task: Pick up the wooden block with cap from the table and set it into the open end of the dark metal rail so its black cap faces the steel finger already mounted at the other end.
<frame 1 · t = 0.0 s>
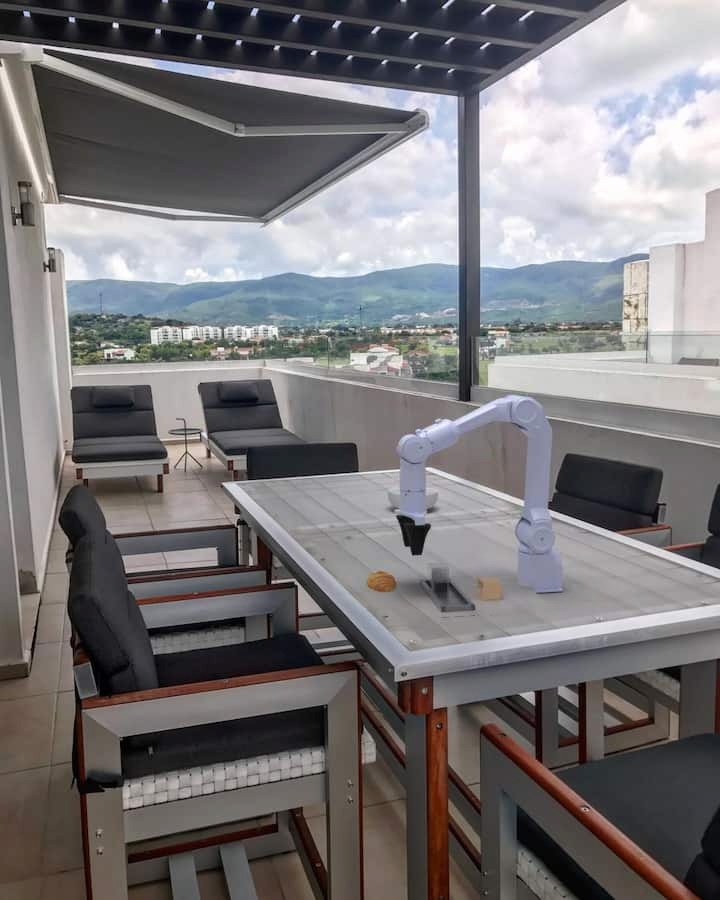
hand: (413, 550, 180), 10 cm above the table, tool pointing down, fingers open, 7 cm apart
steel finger: (438, 587, 183), resting on rail
pastry: (382, 591, 185), on the table
cereal bowl: (412, 511, 274), on the table
rail: (446, 601, 176), on the table
wooden block with cap: (489, 602, 175), on the table
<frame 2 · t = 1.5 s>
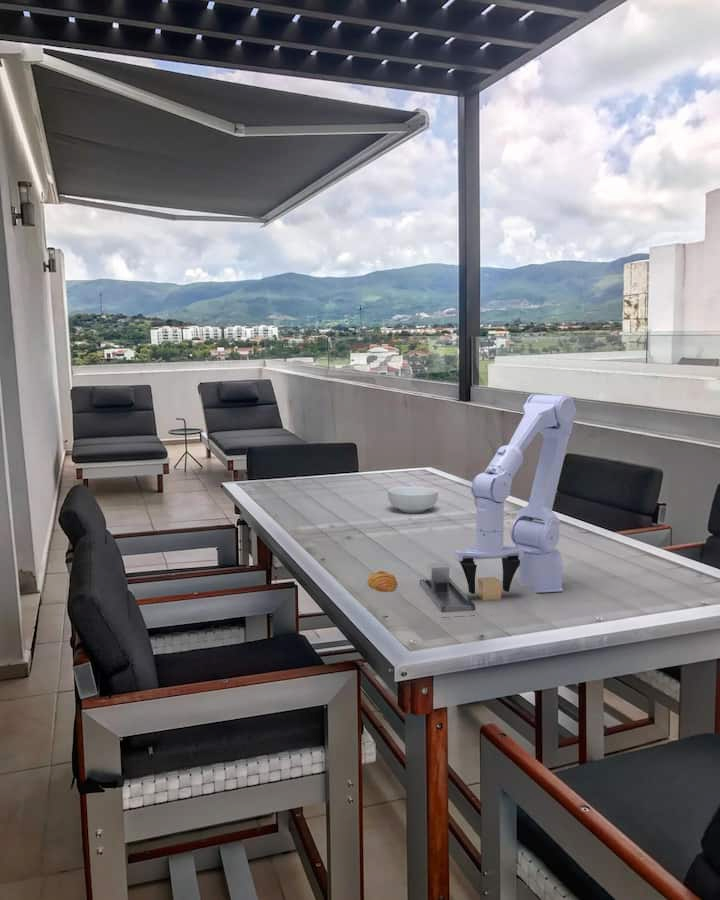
hand: (488, 591, 175), 2 cm above the table, tool pointing down, fingers open, 7 cm apart
nothing on the table moved.
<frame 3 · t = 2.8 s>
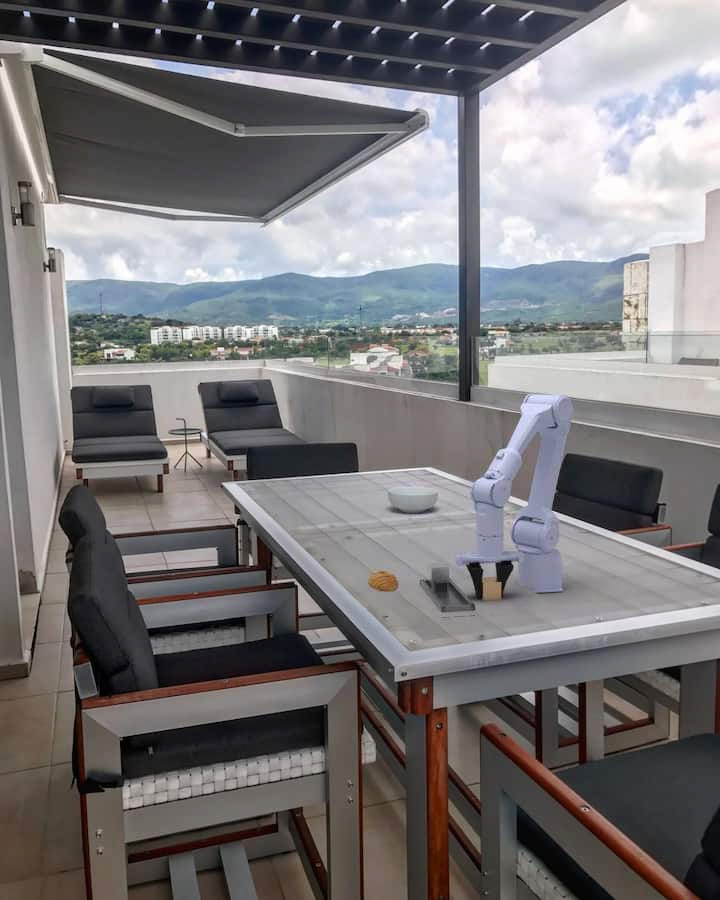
hand: (489, 595, 175), 1 cm above the table, tool pointing down, fingers closed on wooden block with cap, 4 cm apart
wooden block with cap: (489, 602, 175), on the table, touching gripper
everything else where it was.
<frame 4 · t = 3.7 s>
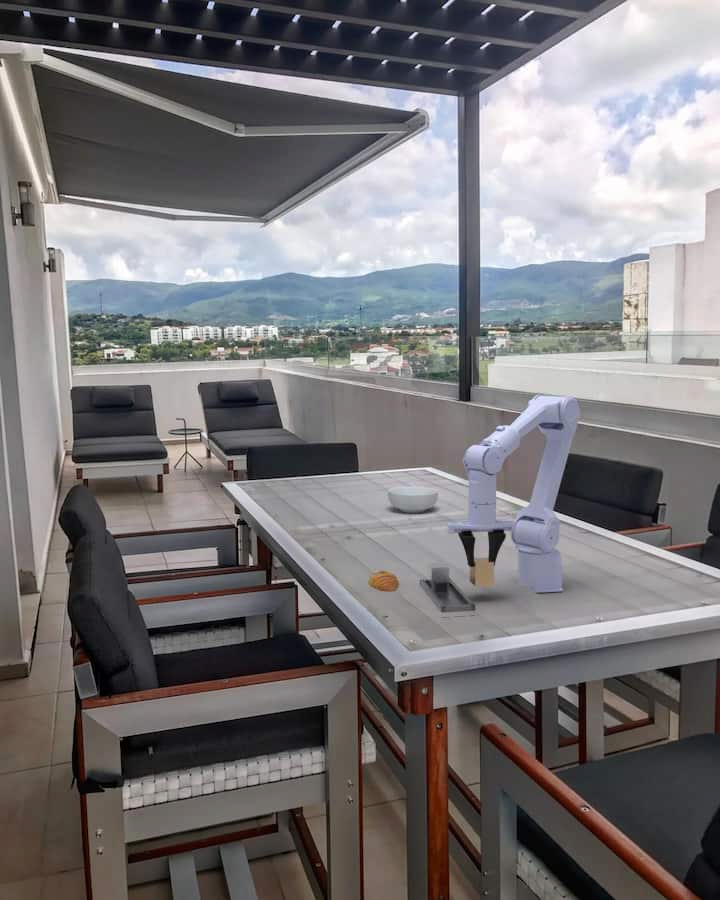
hand: (481, 565, 173), 9 cm above the table, tool pointing down, fingers closed on wooden block with cap, 4 cm apart
wooden block with cap: (481, 583, 173), point 5 cm above the table, touching gripper
everything else where it was.
when the fingers open (9 cm above the table, at t = 3.9 s): wooden block with cap drops 2 cm, resting on rail.
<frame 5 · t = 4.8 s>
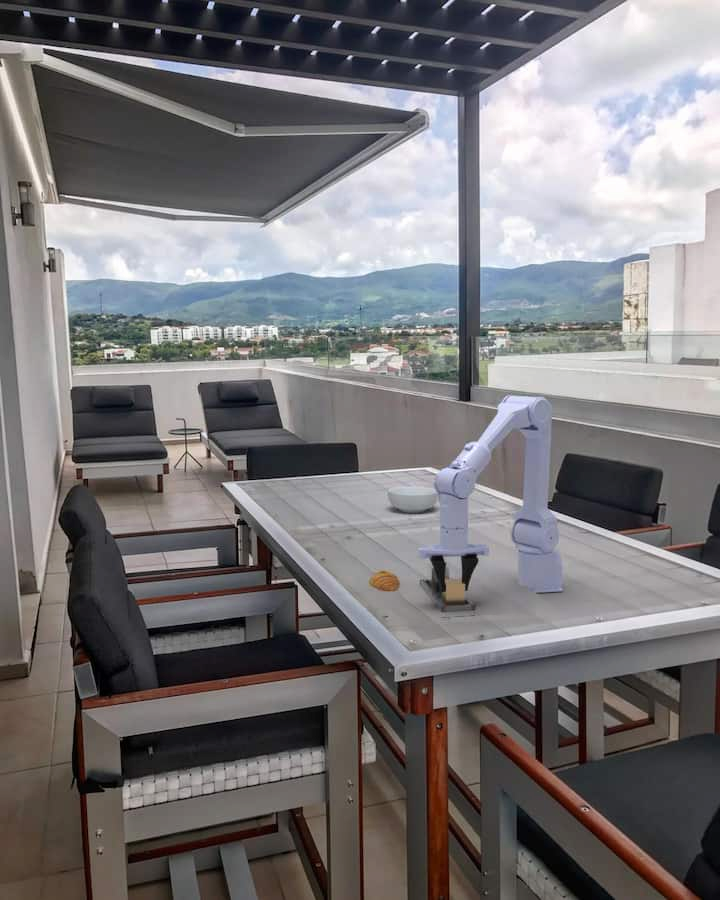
hand: (453, 590, 170), 4 cm above the table, tool pointing down, fingers open, 4 cm apart
wooden block with cap: (453, 604, 170), point 1 cm above the table, touching gripper, rail
everything else where it was.
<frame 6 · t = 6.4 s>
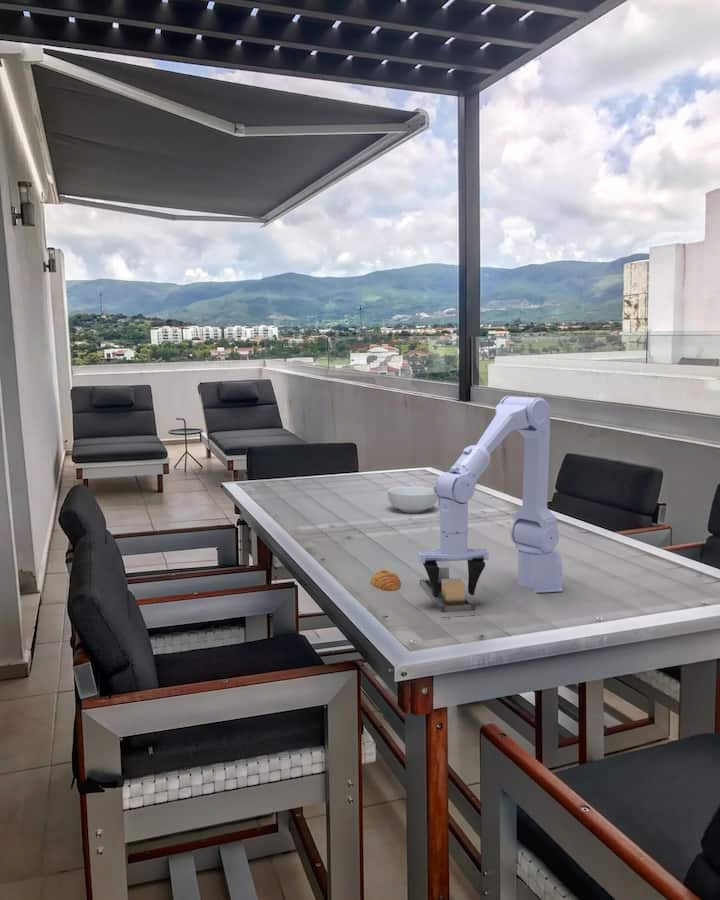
hand: (453, 594, 170), 3 cm above the table, tool pointing down, fingers open, 7 cm apart
wooden block with cap: (453, 604, 170), point 1 cm above the table, touching rail
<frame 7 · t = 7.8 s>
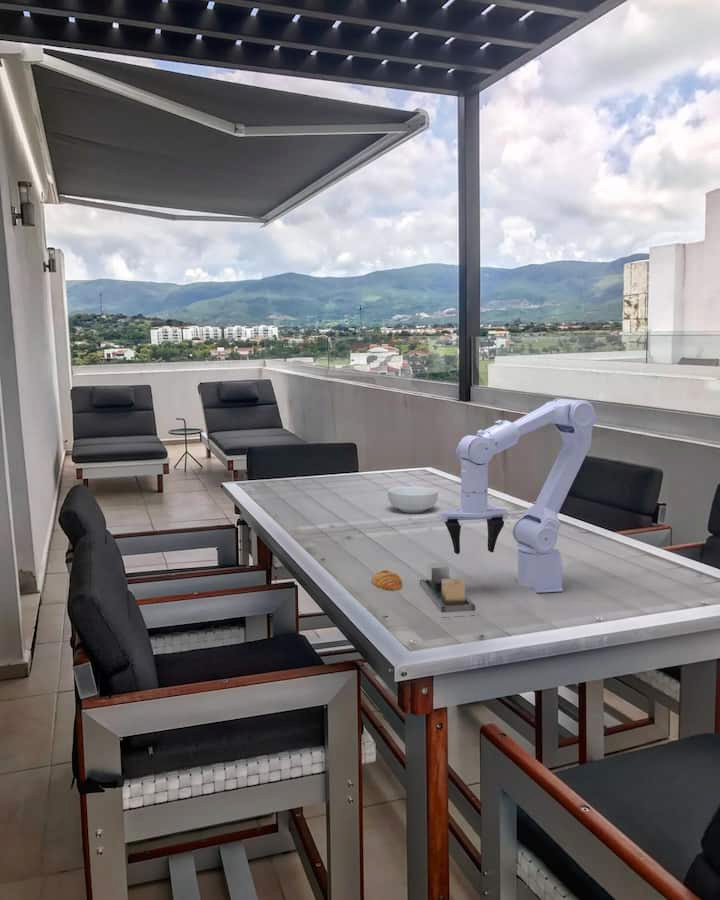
hand: (473, 552, 179), 10 cm above the table, tool pointing down, fingers open, 7 cm apart
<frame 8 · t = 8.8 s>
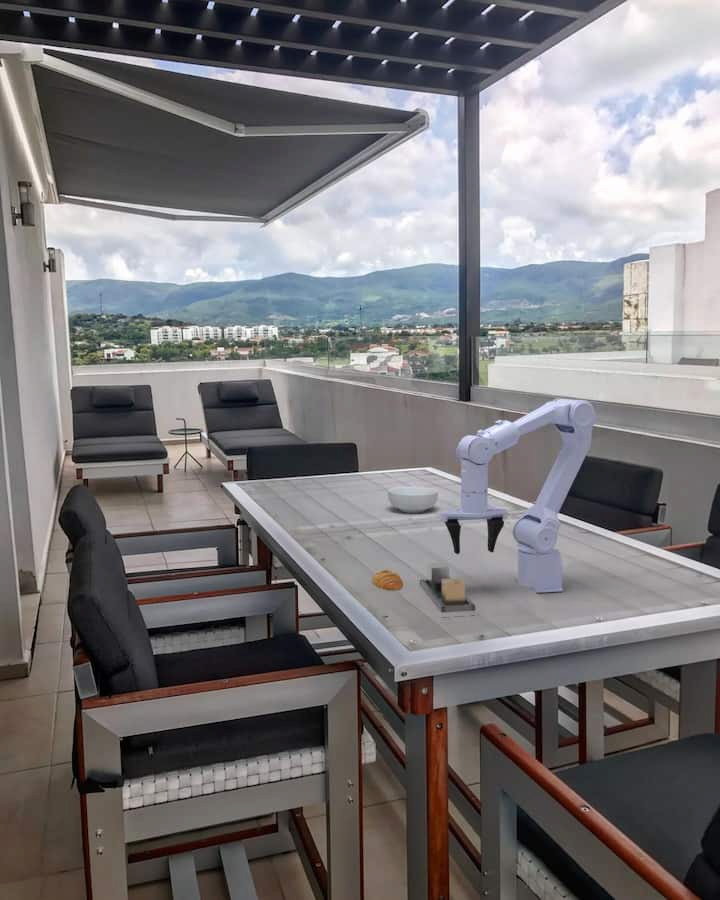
hand: (473, 552, 179), 10 cm above the table, tool pointing down, fingers open, 7 cm apart
at the end: wooden block with cap 0.3 cm from the target spot on the rail, point 1.2 cm above the rail's base; wooden block with cap tilted 0°; the gripper is holding nothing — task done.
